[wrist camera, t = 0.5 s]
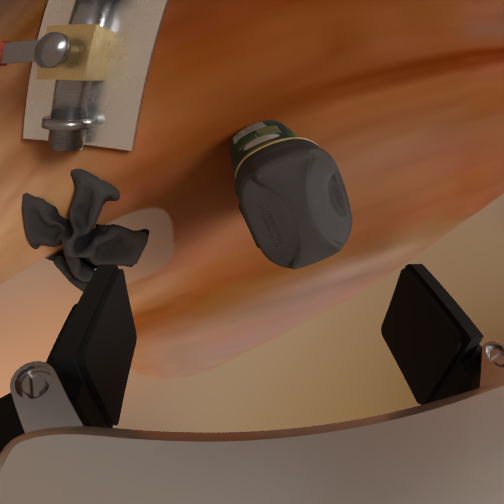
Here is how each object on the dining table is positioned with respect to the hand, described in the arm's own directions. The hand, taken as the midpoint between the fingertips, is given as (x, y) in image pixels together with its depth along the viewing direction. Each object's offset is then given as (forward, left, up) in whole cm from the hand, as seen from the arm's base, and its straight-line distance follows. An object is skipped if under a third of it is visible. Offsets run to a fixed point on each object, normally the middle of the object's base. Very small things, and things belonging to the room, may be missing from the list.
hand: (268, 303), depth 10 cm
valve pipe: (-8, -20, -30) cm, 37 cm away
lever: (-8, -25, -22) cm, 35 cm away
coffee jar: (+1, +4, -30) cm, 30 cm away
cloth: (+17, -18, -31) cm, 39 cm away
